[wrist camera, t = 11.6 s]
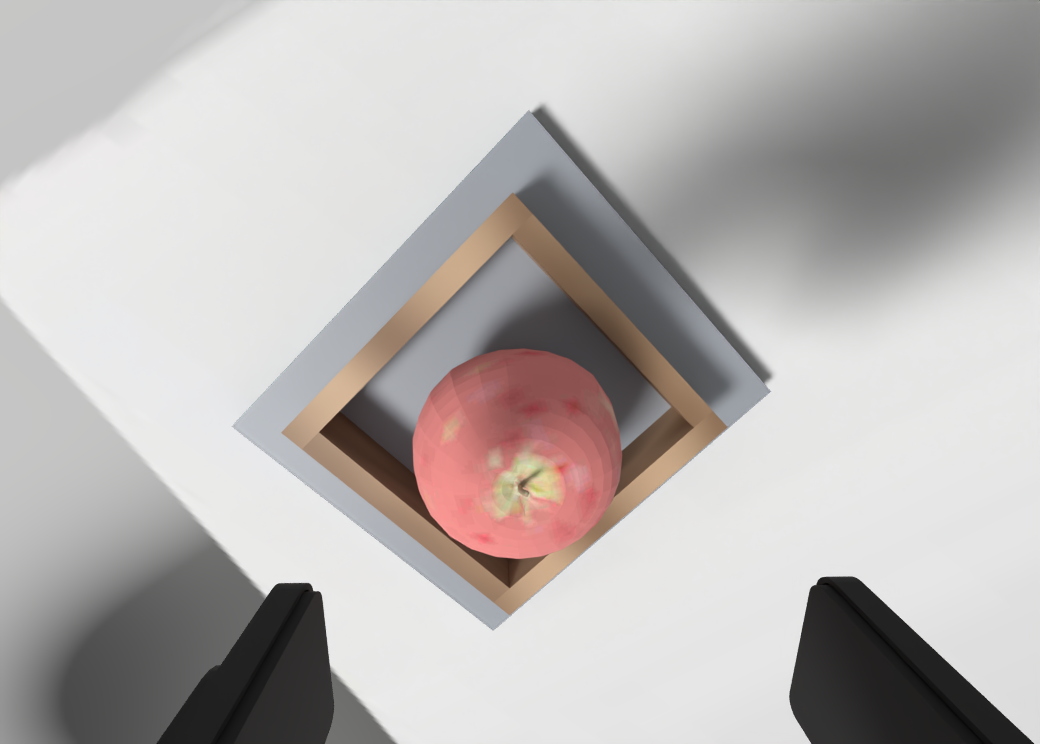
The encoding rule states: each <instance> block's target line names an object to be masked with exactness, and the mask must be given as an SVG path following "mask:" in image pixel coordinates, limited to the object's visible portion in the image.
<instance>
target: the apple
mask: <svg viewBox="0 0 1040 744" xmlns="http://www.w3.org/2000/svg"><path fill="white" fill-rule="evenodd" d="M621 461H622V450H621V442H620V433H619V428H618V424H617V421H616V417H615V414H614V410H613V407H612V404H611V402H610V400H609V398H608V397H607V395H606V394H605V392H604V391H603V389H602V388H601V386H600V385H599V383H598V382H597V380H596V379H595V377H594V376H593V374H591V373H590V372H588V371H587V370H585V369H584V368H583V367H581V366H580V365H578V364H577V363H575V362H574V361H572V360H571V359H568V358H565V357H562V356H559V355H556V354H553V353H550V352H548V351H539V350H532V349H525V348H522V349H506V350H498V351H494V352H490V353H486V354H483V355H479V356H476V357H474V358H472V359H470V360H468V361H466V362H464V363H462V364H460V365H458V366H456V367H455V368H453V369H452V370H450V371H449V372H448V374H447V375H446V376H445V377H444V378H443V379H442V380H441V381H440V382H439V383H438V384H437V385H436V386H435V387H434V388H433V390H432V391H431V392H430V394H429V396H428V398H427V400H426V402H425V404H424V406H423V408H422V410H421V413H420V415H419V417H418V421H417V425H416V428H415V432H414V436H413V465H414V471H415V476H416V480H417V484H418V489H419V492H420V494H421V496H422V498H423V500H424V503H425V505H426V507H427V509H428V511H429V513H430V515H431V516H432V517H433V518H434V519H435V520H436V521H437V523H438V524H439V525H440V526H441V527H442V528H443V529H444V530H445V531H446V532H447V533H448V535H449V536H451V537H452V538H454V539H455V540H457V541H459V542H460V543H462V544H464V545H465V546H467V547H469V548H470V549H473V550H476V551H479V552H482V553H485V554H488V555H492V556H495V557H504V558H515V559H523V558H532V557H541V556H544V555H547V554H550V553H553V552H556V551H559V550H562V549H564V548H566V547H567V546H569V545H571V544H572V543H574V542H576V541H577V540H579V539H581V538H582V537H583V536H584V535H585V534H586V533H587V532H588V531H589V530H590V529H591V528H593V527H594V526H595V525H596V524H597V523H598V521H599V520H600V519H601V517H602V516H603V514H604V513H605V511H606V510H607V508H608V507H609V505H610V504H611V502H612V501H613V498H614V495H615V492H616V489H617V486H618V484H619V481H620V473H621Z"/></svg>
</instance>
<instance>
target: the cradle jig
mask: <svg viewBox="0 0 1040 744" xmlns="http://www.w3.org/2000/svg"><path fill="white" fill-rule="evenodd" d="M522 348H525V349H532V350H539V351H548V352H550V353H553V354H556V355H559V356H562V357H565V358H568V359H571V360H572V361H574V362H575V363H577V364H578V365H580V366H581V367H583V368H584V369H585V370H587V371H588V372H590V373H591V374H593V376H594V377H595V379H596V380H597V382H598V383H599V385H600V386H601V388H602V389H603V391H604V392H605V394H606V395H607V397H608V398H609V400H610V402H611V404H612V407H613V410H614V414H615V417H616V421H617V424H618V428H619V433H620V442H621V450H622V461H621V473H620V481H619V484H618V486H617V489H616V492H615V495H614V498H613V501H612V502H611V504H610V505H609V507H608V508H607V510H606V511H605V513H604V514H603V516H602V517H601V519H600V520H599V521H598V523H597V524H596V525H595V526H594V527H593V528H591V529H590V530H589V531H588V532H587V533H586V534H585V535H584V536H583V537H582V538H581V539H579V540H577V541H576V542H574V543H572V544H571V545H569V546H567V547H566V548H564V549H562V550H559V551H556V552H553V553H550V554H547V555H544V556H541V557H532V558H523V559H515V558H504V557H495V556H492V555H488V554H485V553H482V552H479V551H476V550H473V549H470V548H469V547H467V546H465V545H464V544H462V543H460V542H459V541H457V540H455V539H454V538H452V537H451V536H449V535H448V533H447V532H446V531H445V530H444V529H443V528H442V527H441V526H440V525H439V524H438V523H437V521H436V520H435V519H434V518H433V517H432V516H431V515H430V513H429V511H428V509H427V507H426V505H425V503H424V500H423V498H422V496H421V494H420V492H419V489H418V484H417V480H416V476H415V471H414V465H413V436H414V432H415V428H416V425H417V421H418V417H419V415H420V413H421V410H422V408H423V406H424V404H425V402H426V400H427V398H428V396H429V394H430V392H431V391H432V390H433V388H434V387H435V386H436V385H437V384H438V383H439V382H440V381H441V380H442V379H443V378H444V377H445V376H446V375H447V374H448V372H449V371H450V370H452V369H453V368H455V367H456V366H458V365H460V364H462V363H464V362H466V361H468V360H470V359H472V358H474V357H476V356H479V355H483V354H486V353H490V352H494V351H498V350H506V349H522ZM770 392H771V391H770V390H769V389H768V388H767V386H766V385H765V384H764V383H763V382H762V381H761V379H760V378H759V377H758V376H757V375H756V374H755V372H754V371H753V370H752V369H751V368H750V367H749V365H748V364H747V363H746V362H745V361H744V360H743V358H742V357H741V356H740V355H739V354H738V353H737V352H736V350H735V349H734V348H733V347H732V346H731V345H730V343H729V342H728V341H727V340H726V339H725V338H724V336H723V335H722V334H721V333H720V332H719V331H718V329H717V328H716V327H715V326H714V325H713V324H712V322H711V321H710V320H709V319H708V318H707V317H706V315H705V314H704V313H703V312H702V311H701V310H700V309H699V307H698V306H697V305H696V304H695V303H694V302H693V300H692V299H691V298H690V297H689V296H688V295H687V293H686V292H685V291H684V290H683V289H682V288H681V286H680V285H679V284H678V283H677V282H676V281H675V279H674V278H673V277H672V276H671V275H670V274H669V272H668V271H667V270H666V269H665V268H664V267H663V266H662V264H661V263H660V262H659V261H658V260H657V259H656V257H655V256H654V255H653V254H652V253H651V252H650V250H649V249H648V248H647V247H646V246H645V245H644V243H643V242H642V241H641V240H640V239H639V238H638V236H637V235H636V234H635V233H634V232H633V231H632V229H631V228H630V227H629V226H628V225H627V224H626V222H625V221H624V220H623V219H622V218H621V217H620V216H619V214H618V213H617V212H616V211H615V210H614V209H613V207H612V206H611V205H610V204H609V203H608V202H607V200H606V199H605V198H604V197H603V196H602V195H601V193H600V192H599V191H598V190H597V189H596V188H595V186H594V185H593V184H592V183H591V182H590V181H589V179H588V178H587V177H586V176H585V175H584V174H583V173H582V171H581V170H580V169H579V168H578V167H577V166H576V164H575V163H574V162H573V161H572V160H571V159H570V157H569V156H568V155H567V154H566V153H565V152H564V150H563V149H562V148H561V147H560V146H559V145H558V143H557V142H556V141H555V140H554V139H553V138H552V136H551V135H550V134H549V133H548V132H547V131H546V130H545V128H544V127H543V126H542V125H541V124H540V123H539V121H538V120H537V119H536V118H535V117H534V116H533V114H532V113H531V112H530V111H528V112H527V113H526V114H525V115H524V116H523V117H522V118H521V119H520V120H519V121H518V122H517V123H516V124H515V125H514V127H513V128H512V129H511V130H510V131H509V132H508V133H507V134H506V135H505V136H504V137H503V138H502V139H501V140H500V141H499V142H498V144H497V145H496V146H495V147H494V148H493V149H492V150H491V151H490V152H489V153H488V154H487V155H486V156H485V157H484V158H483V160H482V161H481V162H480V163H479V164H478V165H477V166H476V167H475V168H474V169H473V170H472V171H471V172H470V173H469V174H468V175H467V177H466V178H465V179H464V180H463V181H462V182H461V183H460V184H459V185H458V186H457V187H456V188H455V189H454V190H453V191H452V193H451V194H450V195H449V196H448V197H447V198H446V199H445V200H444V201H443V202H442V203H441V204H440V205H439V206H438V207H437V208H436V210H435V211H434V212H433V213H432V214H431V215H430V216H429V217H428V218H427V219H426V220H425V221H424V222H423V223H422V224H421V226H420V227H419V228H418V229H417V230H416V231H415V232H414V233H413V234H412V235H411V236H410V237H409V238H408V239H407V240H406V241H405V243H404V244H403V245H402V246H401V247H400V248H399V249H398V250H397V251H396V252H395V253H394V254H393V255H392V256H391V257H390V259H389V260H388V261H387V262H386V263H385V264H384V265H383V266H382V267H381V268H380V269H379V270H378V271H377V272H376V273H375V275H374V276H373V277H372V278H371V279H370V280H369V281H368V282H367V283H366V284H365V285H364V286H363V287H362V288H361V289H360V290H359V292H358V293H357V294H356V295H355V296H354V297H353V298H352V299H351V300H350V301H349V302H348V303H347V304H346V305H345V306H344V308H343V309H342V310H341V311H340V312H339V313H338V314H337V315H336V316H335V317H334V318H333V319H332V320H331V321H330V322H329V323H328V325H327V326H326V327H325V328H324V329H323V330H322V331H321V332H320V333H319V334H318V335H317V336H316V337H315V338H314V339H313V341H312V342H311V343H310V344H309V345H308V346H307V347H306V348H305V349H304V350H303V351H302V352H301V353H300V354H299V355H298V356H297V358H296V359H295V360H294V361H293V362H292V363H291V364H290V365H289V366H288V367H287V368H286V369H285V370H284V371H283V372H282V374H281V375H280V376H279V377H278V378H277V379H276V380H275V381H274V382H273V383H272V384H271V385H270V386H269V387H268V388H267V389H266V391H265V392H264V393H263V394H262V395H261V396H260V397H259V398H258V399H257V400H256V401H255V402H254V403H253V404H252V405H251V407H250V408H249V409H248V410H247V411H246V412H245V413H244V414H243V415H242V416H241V417H240V418H239V419H238V420H237V421H236V423H235V424H234V425H233V426H232V427H233V428H234V429H235V430H237V431H238V432H239V433H241V434H242V435H243V436H244V437H246V438H247V439H248V440H250V441H251V442H252V443H253V444H255V445H256V446H257V447H259V448H260V449H261V450H262V451H264V452H265V453H266V454H267V455H269V456H270V457H271V458H273V459H274V460H275V461H276V462H278V463H279V464H280V465H282V466H283V467H284V468H285V469H287V470H288V471H289V472H291V473H292V474H293V475H294V476H296V477H297V478H298V479H300V480H301V481H302V482H303V483H305V484H306V485H307V486H309V487H310V488H311V489H312V490H314V491H315V492H316V493H317V494H319V495H320V496H321V497H323V498H324V499H325V500H326V501H328V502H329V503H330V504H332V505H333V506H334V507H335V508H337V509H338V510H339V511H341V512H342V513H343V514H344V515H346V516H347V517H348V518H350V519H351V520H352V521H353V522H355V523H356V524H357V525H359V526H360V527H361V528H362V529H364V530H365V531H366V532H367V533H369V534H370V535H371V536H373V537H374V538H375V539H376V540H378V541H379V542H380V543H382V544H383V545H384V546H385V547H387V548H388V549H389V550H391V551H392V552H393V553H394V554H396V555H397V556H398V557H400V558H401V559H402V560H403V561H405V562H406V563H407V564H409V565H410V566H411V567H412V568H414V569H415V570H416V571H417V572H419V573H420V574H421V575H423V576H424V577H425V578H426V579H428V580H429V581H430V582H432V583H433V584H434V585H435V586H437V587H438V588H439V589H441V590H442V591H443V592H444V593H446V594H447V595H448V596H450V597H451V598H452V599H453V600H455V601H456V602H457V603H459V604H460V605H461V606H462V607H464V608H465V609H466V610H467V611H469V612H470V613H471V614H473V615H474V616H475V617H476V618H478V619H479V620H480V621H482V622H483V623H484V624H485V625H487V626H488V627H489V628H491V629H492V630H493V631H494V630H495V629H496V628H497V627H498V626H499V625H500V624H502V623H503V622H504V621H505V620H506V619H507V618H509V617H510V616H511V615H512V614H513V613H514V612H516V611H517V610H518V609H519V608H520V607H521V606H523V605H524V604H525V603H526V602H527V601H528V600H530V599H531V598H532V597H533V596H534V595H535V594H536V593H538V592H539V591H540V590H541V589H542V588H543V587H545V586H546V585H547V584H548V583H549V582H550V581H552V580H553V579H554V578H555V577H556V576H557V575H559V574H560V573H561V572H562V571H563V570H564V569H565V568H567V567H568V566H569V565H570V564H571V563H572V562H574V561H575V560H576V559H577V558H578V557H579V556H581V555H582V554H583V553H584V552H585V551H586V550H588V549H589V548H590V547H591V546H592V545H593V544H595V543H596V542H597V541H598V540H599V539H600V538H601V537H603V536H604V535H605V534H606V533H607V532H608V531H610V530H611V529H612V528H613V527H614V526H615V525H617V524H618V523H619V522H620V521H621V520H622V519H624V518H625V517H626V516H627V515H628V514H629V513H630V512H632V511H633V510H634V509H635V508H636V507H637V506H639V505H640V504H641V503H642V502H643V501H644V500H646V499H647V498H648V497H649V496H650V495H651V494H653V493H654V492H655V491H656V490H657V489H658V488H660V487H661V486H662V485H663V484H664V483H665V482H666V481H668V480H669V479H670V478H671V477H672V476H673V475H675V474H676V473H677V472H678V471H679V470H680V469H682V468H683V467H684V466H685V465H686V464H687V463H689V462H690V461H691V460H692V459H693V458H694V457H695V456H697V455H698V454H699V453H700V452H701V451H702V450H704V449H705V448H706V447H707V446H708V445H709V444H711V443H712V442H713V441H714V440H715V439H716V438H718V437H719V436H720V435H721V434H722V433H723V432H725V431H726V430H727V429H728V428H729V427H730V426H731V425H733V424H734V423H735V422H736V421H737V420H738V419H740V418H741V417H742V416H743V415H744V414H745V413H747V412H748V411H749V410H750V409H751V408H752V407H754V406H755V405H756V404H757V403H758V402H759V401H760V400H762V399H763V398H764V397H765V396H766V395H767V394H769V393H770Z"/></svg>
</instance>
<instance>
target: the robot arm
mask: <svg viewBox="0 0 1040 744" xmlns="http://www.w3.org/2000/svg"><path fill="white" fill-rule="evenodd" d="M789 698H790V705H791V708H792V711H793V714H794V716H795V718H796V720H797V721H798V723H799V724H800V726H801V728H802V729H803V731H804V732H805V734H806V736H807V737H808V739H809V741H810V742H811V744H1034V743H1033V742H1032V741H1031V740H1030V739H1029V738H1028V737H1027V736H1026V735H1024V734H1023V733H1022V732H1021V731H1020V730H1019V729H1018V728H1017V727H1016V726H1015V725H1014V724H1013V723H1012V722H1011V721H1010V720H1008V719H1007V718H1006V717H1005V716H1004V715H1003V714H1002V713H1001V712H1000V711H999V710H998V709H997V708H996V707H995V706H994V705H992V704H991V703H990V702H989V701H988V700H987V699H986V698H985V697H984V696H983V695H982V694H981V693H980V692H979V691H978V690H977V689H975V688H974V687H973V686H972V685H971V684H970V683H969V682H968V681H967V680H966V679H965V678H964V677H963V676H962V675H961V674H959V673H958V672H957V671H956V670H955V669H954V668H953V667H952V666H951V665H950V664H949V663H948V662H947V661H946V660H945V659H943V658H942V657H941V656H940V655H939V654H938V653H937V652H936V651H935V650H934V649H933V648H932V647H931V646H930V645H929V644H927V643H926V642H925V641H924V640H923V639H922V638H921V637H920V636H919V635H918V634H917V633H916V632H915V631H914V630H913V629H912V628H910V627H909V626H908V625H907V624H906V623H905V622H904V621H903V620H902V619H901V618H900V617H899V616H898V615H897V614H896V613H894V612H893V611H892V610H891V609H890V608H889V607H888V606H887V605H886V604H885V603H884V602H883V601H882V600H881V599H880V598H878V597H877V596H876V595H875V594H874V593H873V592H872V591H871V590H870V589H869V588H868V587H867V586H866V585H865V584H864V583H862V582H861V581H860V580H859V579H857V578H855V577H822V578H820V579H819V580H818V582H817V584H816V585H814V586H812V587H811V589H810V592H809V597H808V602H807V607H806V612H805V617H804V622H803V627H802V632H801V638H800V643H799V648H798V653H797V658H796V663H795V668H794V673H793V678H792V683H791V689H790V695H789ZM333 713H334V700H333V691H332V682H331V673H330V664H329V655H328V646H327V637H326V628H325V619H324V610H323V601H322V595H321V593H320V592H319V591H313V588H312V586H311V584H309V583H279V584H277V585H275V586H274V588H273V589H272V590H271V592H270V593H269V594H268V596H267V597H266V599H265V601H264V602H263V603H262V605H261V606H260V608H259V609H258V611H257V612H256V614H255V615H254V617H253V618H252V620H251V621H250V623H249V624H248V626H247V627H246V629H245V630H244V632H243V633H242V634H241V636H240V637H239V639H238V640H237V642H236V644H235V645H234V646H233V648H232V649H231V651H230V652H229V654H228V655H227V657H226V658H225V660H224V661H223V663H222V664H221V665H219V666H215V667H213V668H212V669H210V670H209V671H208V672H207V673H206V675H205V676H204V677H203V678H202V679H201V681H200V682H199V684H198V685H197V687H196V688H195V689H194V691H193V692H192V694H191V695H190V696H189V698H188V699H187V701H186V703H185V704H184V705H183V706H182V708H181V709H180V711H179V712H178V714H177V715H176V717H175V718H174V719H173V721H172V722H171V724H170V725H169V727H168V728H167V730H166V731H165V732H164V734H163V735H162V737H161V738H160V740H159V741H158V742H157V744H325V741H326V738H327V735H328V733H329V730H330V727H331V723H332V719H333Z"/></svg>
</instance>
